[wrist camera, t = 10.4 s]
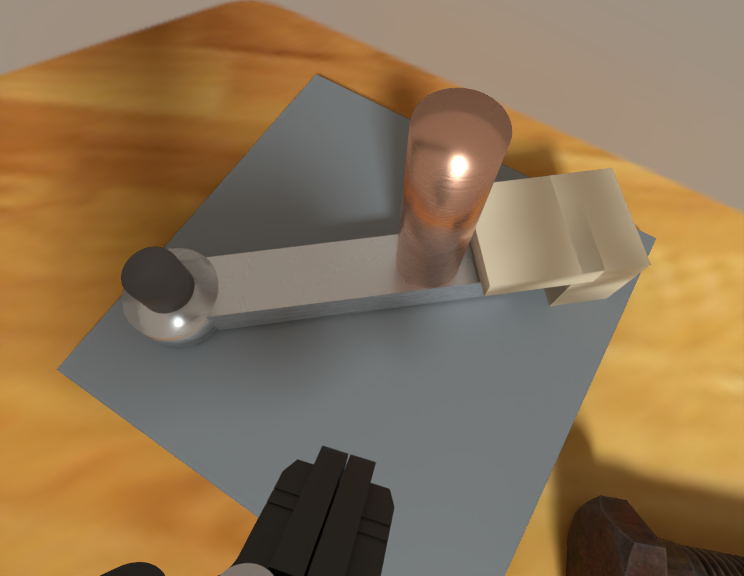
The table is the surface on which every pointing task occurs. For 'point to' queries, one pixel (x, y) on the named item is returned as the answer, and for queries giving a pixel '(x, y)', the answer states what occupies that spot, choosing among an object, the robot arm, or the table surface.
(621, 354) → the table surface
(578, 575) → the bolt
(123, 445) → the table surface
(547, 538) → the table surface
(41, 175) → the table surface
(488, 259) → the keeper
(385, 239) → the link
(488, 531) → the board
